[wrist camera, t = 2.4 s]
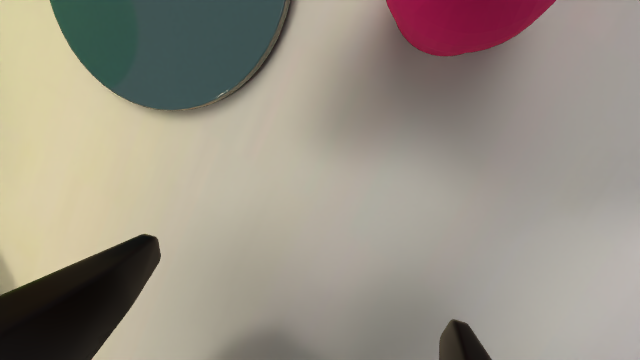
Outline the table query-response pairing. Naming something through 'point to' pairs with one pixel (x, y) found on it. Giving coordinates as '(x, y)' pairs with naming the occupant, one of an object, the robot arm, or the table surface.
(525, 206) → the table surface
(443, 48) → the pepper mill
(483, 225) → the table surface
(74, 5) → the plate
